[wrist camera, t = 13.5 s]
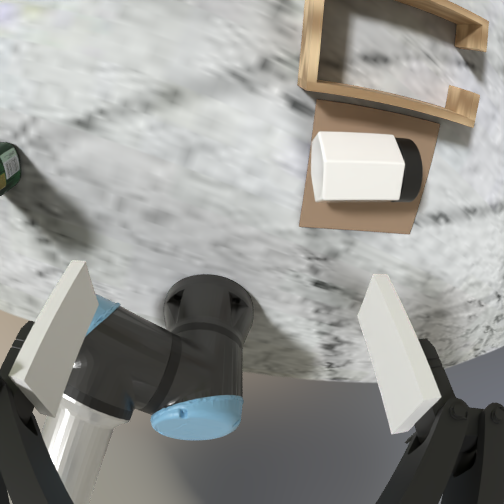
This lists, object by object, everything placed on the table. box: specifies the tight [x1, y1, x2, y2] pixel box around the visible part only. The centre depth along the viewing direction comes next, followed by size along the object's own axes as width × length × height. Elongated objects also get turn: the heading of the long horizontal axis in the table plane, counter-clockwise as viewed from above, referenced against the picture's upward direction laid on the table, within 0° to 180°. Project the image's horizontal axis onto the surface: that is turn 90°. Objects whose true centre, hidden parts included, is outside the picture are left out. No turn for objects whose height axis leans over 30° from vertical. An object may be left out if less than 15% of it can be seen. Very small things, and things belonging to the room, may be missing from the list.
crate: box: [297, 0, 489, 128], centre depth 28 cm, size 15×22×6 cm
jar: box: [311, 131, 423, 203], centre depth 36 cm, size 9×8×12 cm
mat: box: [299, 99, 440, 234], centre depth 41 cm, size 18×18×1 cm
